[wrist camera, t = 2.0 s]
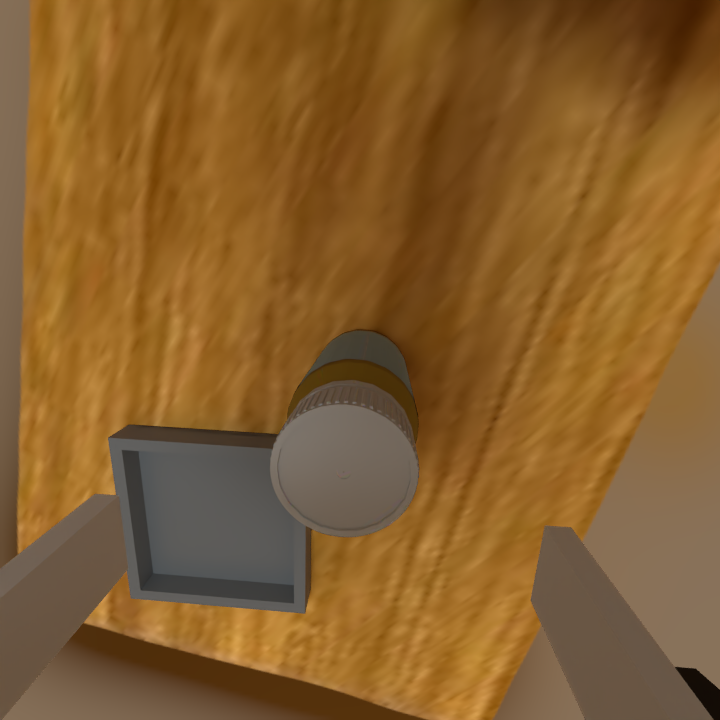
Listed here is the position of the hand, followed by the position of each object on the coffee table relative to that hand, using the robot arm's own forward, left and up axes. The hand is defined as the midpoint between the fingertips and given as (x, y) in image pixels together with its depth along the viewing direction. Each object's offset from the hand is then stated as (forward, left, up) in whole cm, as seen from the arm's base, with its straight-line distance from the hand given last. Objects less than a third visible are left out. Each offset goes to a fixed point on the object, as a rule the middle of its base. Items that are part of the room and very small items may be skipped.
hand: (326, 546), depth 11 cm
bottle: (0, 0, -19) cm, 19 cm away
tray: (+14, -12, -19) cm, 26 cm away
